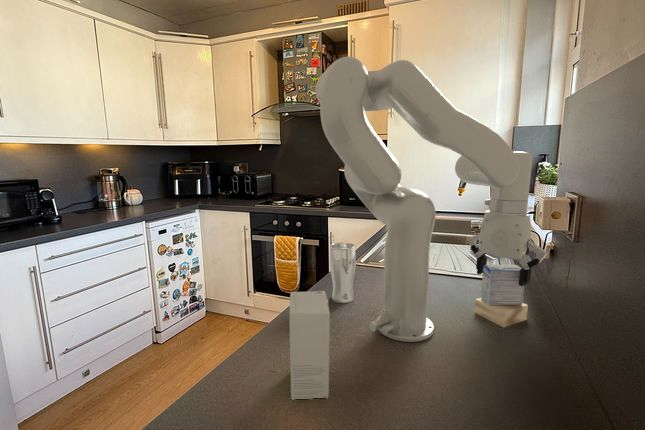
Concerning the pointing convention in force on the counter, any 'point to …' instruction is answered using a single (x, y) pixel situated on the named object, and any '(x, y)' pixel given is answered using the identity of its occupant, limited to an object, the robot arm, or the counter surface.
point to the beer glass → (342, 271)
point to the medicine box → (502, 285)
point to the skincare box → (309, 344)
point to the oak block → (501, 312)
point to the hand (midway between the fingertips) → (501, 278)
